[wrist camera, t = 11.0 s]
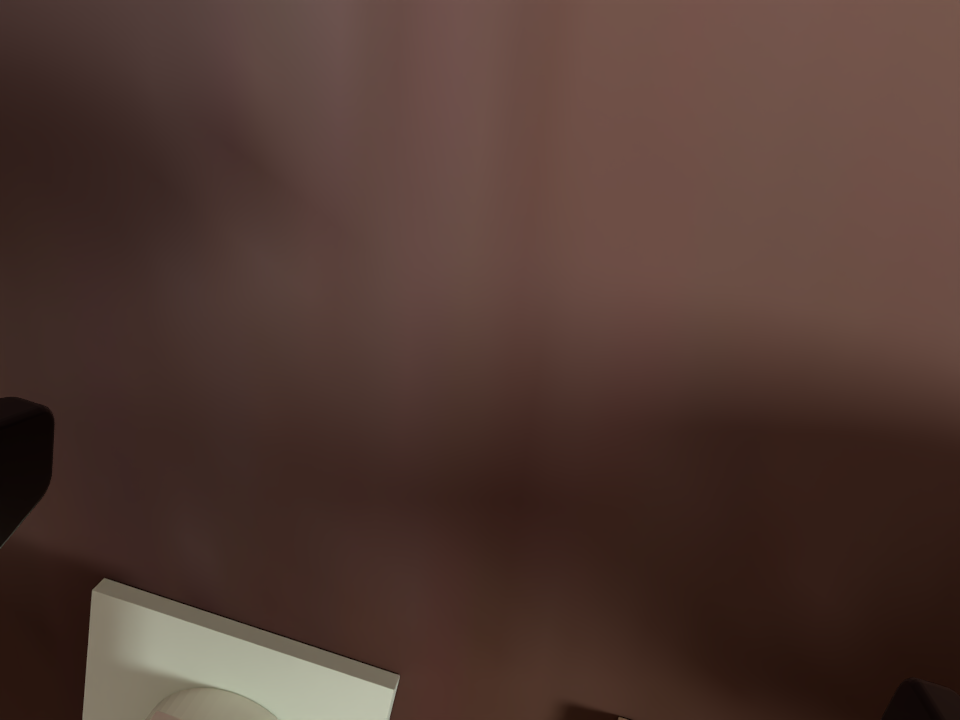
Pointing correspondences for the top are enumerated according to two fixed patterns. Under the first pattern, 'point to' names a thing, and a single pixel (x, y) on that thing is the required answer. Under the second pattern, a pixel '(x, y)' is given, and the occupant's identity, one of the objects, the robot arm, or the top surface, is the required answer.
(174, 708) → the cream jug
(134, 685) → the sage coaster
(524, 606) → the top surface
